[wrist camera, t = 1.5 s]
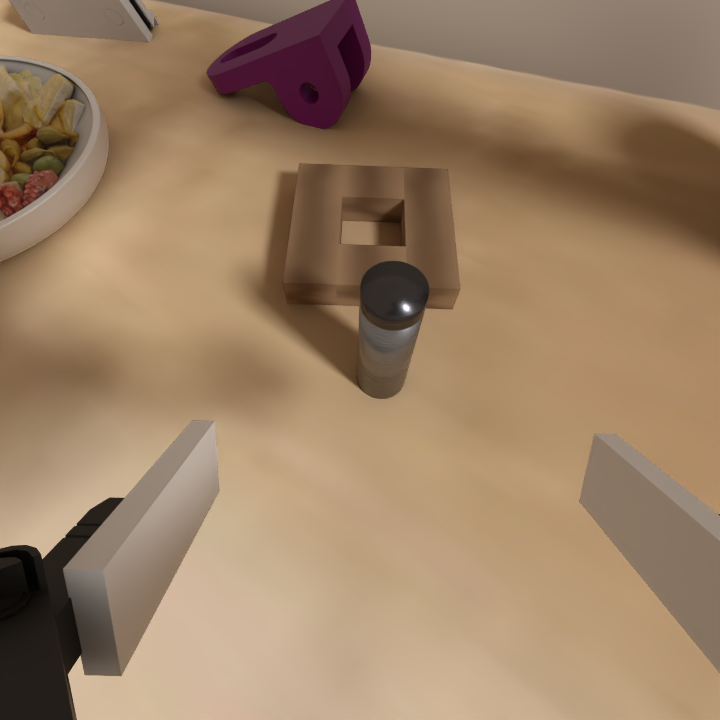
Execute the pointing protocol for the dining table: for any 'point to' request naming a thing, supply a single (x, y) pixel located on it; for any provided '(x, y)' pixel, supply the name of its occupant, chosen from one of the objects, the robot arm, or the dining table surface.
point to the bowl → (45, 150)
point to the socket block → (369, 203)
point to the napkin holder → (88, 18)
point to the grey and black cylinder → (389, 325)
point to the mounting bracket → (302, 61)
